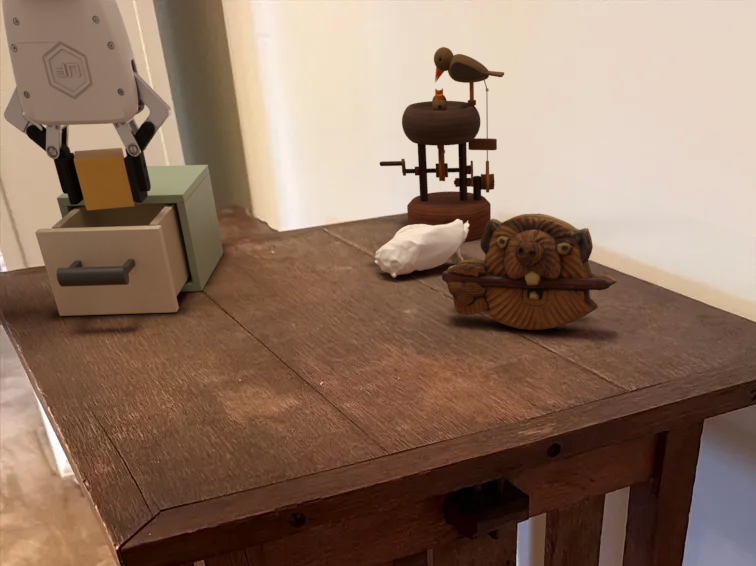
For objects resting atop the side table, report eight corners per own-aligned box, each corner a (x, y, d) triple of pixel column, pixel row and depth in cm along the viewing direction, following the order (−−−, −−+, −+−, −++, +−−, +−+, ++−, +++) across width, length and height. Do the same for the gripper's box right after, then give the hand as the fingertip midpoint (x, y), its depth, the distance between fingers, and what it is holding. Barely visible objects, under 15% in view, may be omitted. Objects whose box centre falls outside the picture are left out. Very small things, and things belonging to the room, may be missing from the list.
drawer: (166, 329, 86) (146, 243, 81) (43, 334, 86) (16, 246, 81) (201, 271, 101) (186, 194, 96) (96, 274, 100) (76, 198, 96)
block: (86, 210, 87) (73, 159, 84) (87, 200, 90) (74, 151, 88) (134, 206, 88) (123, 155, 85) (133, 196, 91) (122, 147, 89)
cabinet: (201, 291, 98) (182, 194, 92) (83, 294, 98) (56, 197, 92) (223, 253, 110) (207, 164, 104) (117, 256, 109) (95, 167, 103)
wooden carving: (438, 330, 88) (434, 219, 82) (450, 315, 91) (446, 207, 85) (609, 342, 85) (618, 227, 79) (615, 325, 88) (623, 214, 82)
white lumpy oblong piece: (440, 270, 107) (366, 262, 102) (457, 211, 103) (379, 199, 98) (461, 289, 105) (385, 282, 99) (479, 229, 101) (400, 218, 95)
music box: (492, 216, 122) (495, 39, 108) (510, 246, 114) (516, 58, 100) (378, 223, 119) (367, 43, 106) (389, 253, 111) (377, 63, 98)
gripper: (-68, -26, 74) (7, 213, 86) (144, -31, 75) (191, 207, 86) (-33, -30, 80) (33, 194, 92) (163, -34, 81) (205, 189, 92)
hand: (109, 198), depth 89 cm, fingers closed on block, 5 cm apart
